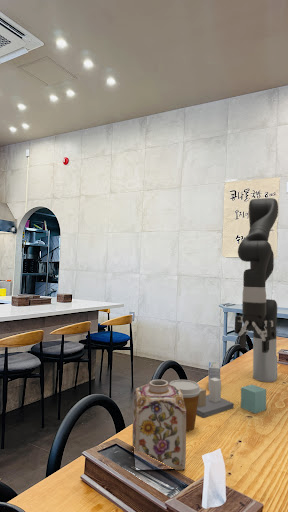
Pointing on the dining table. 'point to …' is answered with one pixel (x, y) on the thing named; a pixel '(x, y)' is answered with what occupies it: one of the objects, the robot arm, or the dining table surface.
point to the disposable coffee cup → (189, 399)
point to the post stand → (212, 400)
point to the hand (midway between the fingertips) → (253, 349)
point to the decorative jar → (160, 423)
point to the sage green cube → (253, 398)
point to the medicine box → (213, 371)
